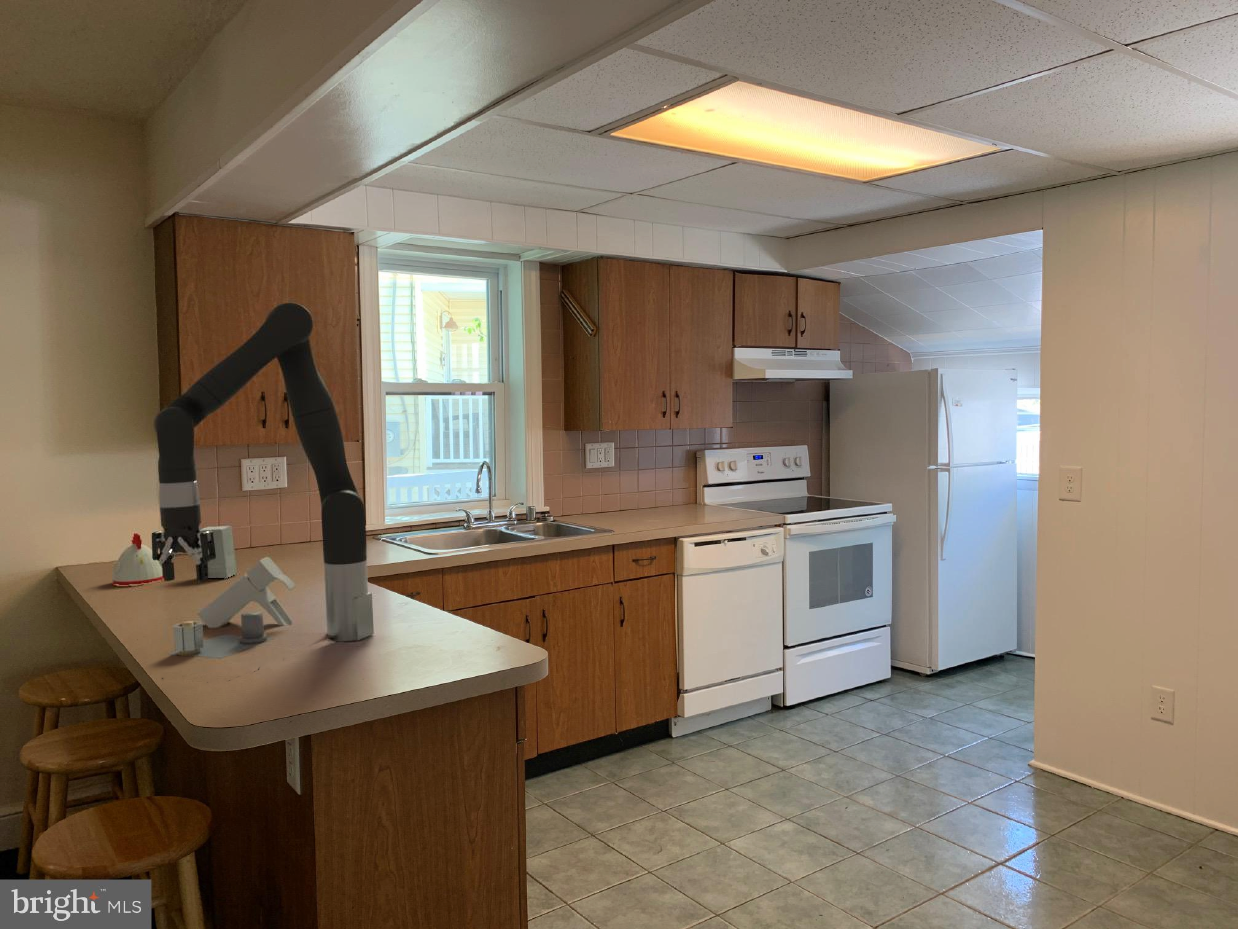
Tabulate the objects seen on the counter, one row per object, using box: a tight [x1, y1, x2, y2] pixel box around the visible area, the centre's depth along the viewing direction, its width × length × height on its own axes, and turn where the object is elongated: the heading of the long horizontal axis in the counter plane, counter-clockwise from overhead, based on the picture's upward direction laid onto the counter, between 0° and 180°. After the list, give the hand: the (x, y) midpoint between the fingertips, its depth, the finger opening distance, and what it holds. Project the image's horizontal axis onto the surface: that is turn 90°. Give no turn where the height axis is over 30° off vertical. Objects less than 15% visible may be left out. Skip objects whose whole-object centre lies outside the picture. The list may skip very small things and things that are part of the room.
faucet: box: [196, 556, 296, 629], centre depth 215 cm, size 6×16×20 cm
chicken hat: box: [112, 533, 163, 585], centre depth 277 cm, size 14×14×15 cm
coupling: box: [173, 620, 204, 652], centre depth 190 cm, size 5×5×5 cm
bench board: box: [167, 611, 275, 659], centre depth 195 cm, size 14×16×8 cm
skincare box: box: [199, 525, 238, 579], centre depth 281 cm, size 8×7×16 cm
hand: (185, 581), depth 189 cm, fingers open, 8 cm apart
